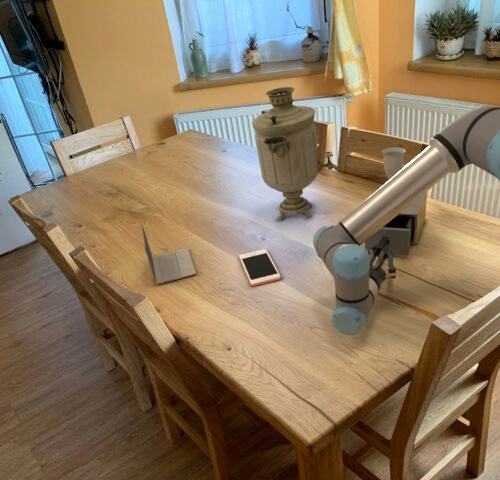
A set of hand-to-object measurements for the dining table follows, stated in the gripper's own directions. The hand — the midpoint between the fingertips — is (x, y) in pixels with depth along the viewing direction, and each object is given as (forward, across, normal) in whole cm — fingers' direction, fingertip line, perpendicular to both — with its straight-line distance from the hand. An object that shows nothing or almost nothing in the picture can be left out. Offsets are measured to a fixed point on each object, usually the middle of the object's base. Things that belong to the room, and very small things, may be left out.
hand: (384, 240), depth 138 cm
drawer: (+9, 0, -5) cm, 10 cm away
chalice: (+37, -6, -6) cm, 38 cm away
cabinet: (+18, 0, -6) cm, 19 cm away
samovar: (+26, -35, -6) cm, 44 cm away
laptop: (-15, -63, -6) cm, 65 cm away
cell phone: (-11, -35, -6) cm, 37 cm away
